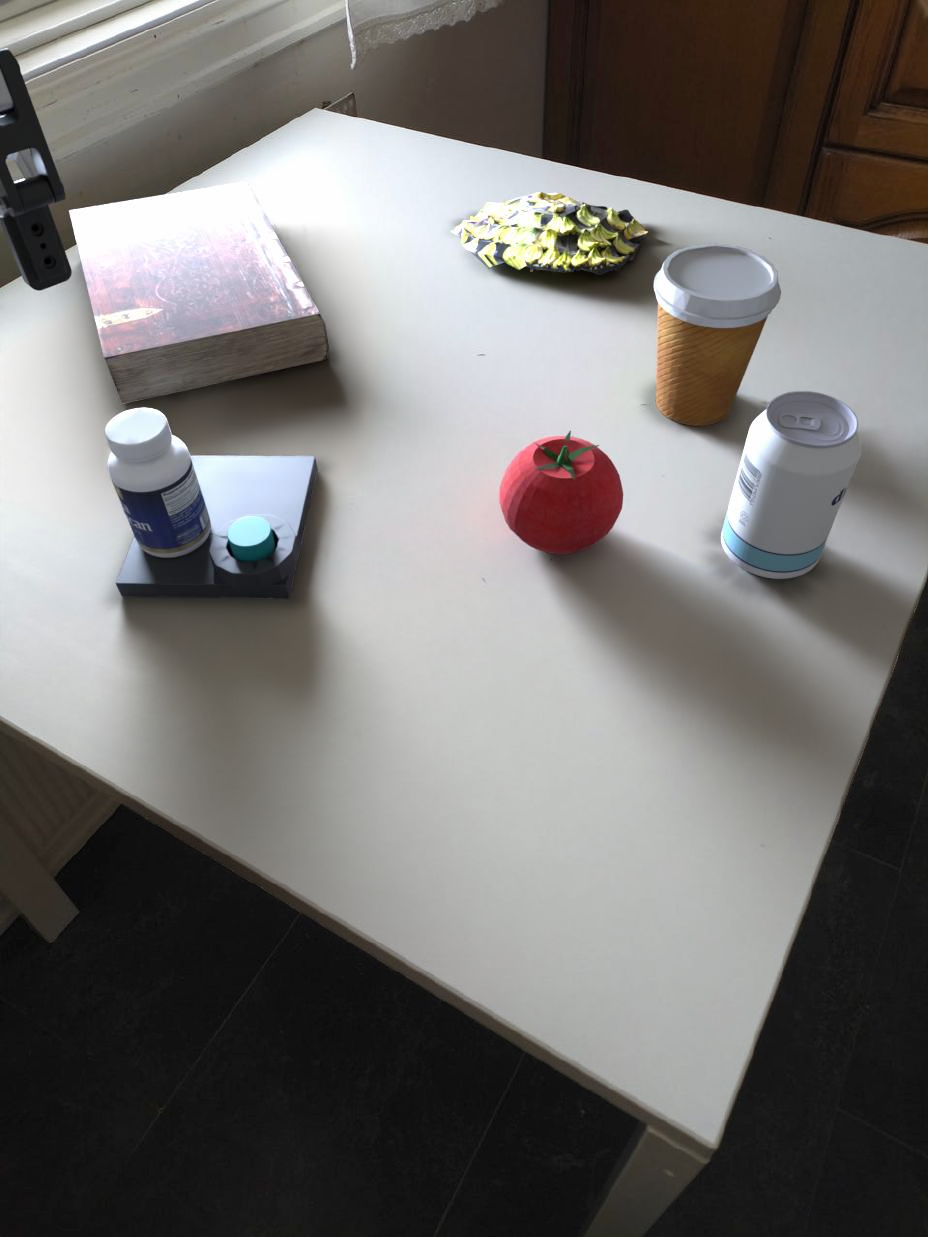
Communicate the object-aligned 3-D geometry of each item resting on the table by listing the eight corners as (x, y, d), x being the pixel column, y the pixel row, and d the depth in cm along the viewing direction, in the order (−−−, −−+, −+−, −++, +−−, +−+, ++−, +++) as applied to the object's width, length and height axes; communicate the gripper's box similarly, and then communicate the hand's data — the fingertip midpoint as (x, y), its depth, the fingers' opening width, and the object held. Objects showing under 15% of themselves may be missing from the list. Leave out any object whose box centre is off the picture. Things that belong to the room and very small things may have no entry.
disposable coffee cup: (755, 381, 79) (789, 249, 70) (743, 447, 73) (779, 312, 64) (647, 364, 81) (667, 233, 72) (627, 427, 75) (645, 293, 66)
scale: (294, 604, 63) (287, 574, 61) (119, 601, 63) (105, 572, 61) (323, 469, 72) (318, 439, 70) (170, 468, 73) (160, 438, 71)
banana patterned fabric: (424, 271, 94) (420, 202, 91) (494, 245, 106) (493, 184, 103) (605, 282, 86) (608, 207, 82) (659, 253, 98) (663, 187, 95)
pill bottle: (121, 541, 65) (75, 432, 58) (176, 499, 68) (138, 391, 61) (173, 571, 63) (132, 462, 56) (227, 527, 66) (195, 417, 59)
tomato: (544, 477, 71) (549, 392, 65) (640, 525, 67) (655, 439, 61) (474, 539, 67) (472, 453, 61) (572, 594, 63) (581, 508, 57)
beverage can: (815, 596, 62) (870, 460, 53) (713, 578, 64) (750, 442, 55) (817, 529, 67) (869, 393, 57) (722, 513, 68) (758, 378, 59)
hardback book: (330, 358, 83) (322, 308, 79) (122, 407, 78) (104, 357, 75) (258, 222, 100) (248, 176, 97) (85, 256, 96) (69, 210, 92)
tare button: (271, 562, 62) (266, 546, 61) (227, 562, 62) (222, 546, 61) (278, 532, 64) (274, 516, 63) (236, 532, 64) (232, 516, 63)
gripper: (-305, -160, 37) (-108, 232, 49) (-197, -112, 30) (2, 333, 42) (-117, -183, 40) (24, 190, 52) (21, -145, 33) (147, 277, 45)
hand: (14, 253), depth 47 cm, fingers open, 8 cm apart
